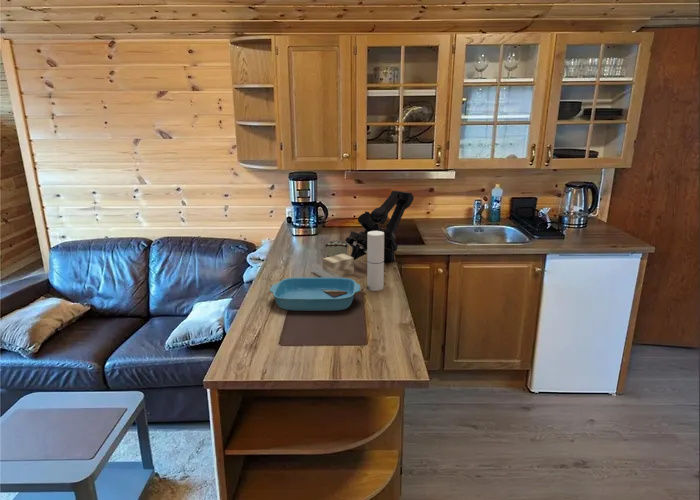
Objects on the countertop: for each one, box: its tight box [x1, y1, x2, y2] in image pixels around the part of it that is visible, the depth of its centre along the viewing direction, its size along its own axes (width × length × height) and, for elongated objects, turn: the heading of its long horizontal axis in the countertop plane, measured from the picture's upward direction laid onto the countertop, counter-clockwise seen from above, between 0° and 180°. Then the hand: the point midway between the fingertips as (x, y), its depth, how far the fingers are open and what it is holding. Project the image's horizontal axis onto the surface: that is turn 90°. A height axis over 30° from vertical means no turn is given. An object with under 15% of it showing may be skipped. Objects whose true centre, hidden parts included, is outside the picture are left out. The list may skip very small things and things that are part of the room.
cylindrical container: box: [366, 230, 385, 292], centre depth 203 cm, size 7×7×25 cm
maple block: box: [322, 254, 355, 278], centre depth 217 cm, size 12×8×8 cm, turn 126°
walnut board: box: [311, 259, 386, 281], centre depth 222 cm, size 29×20×2 cm
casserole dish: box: [269, 276, 362, 312], centre depth 192 cm, size 37×22×7 cm, turn 87°
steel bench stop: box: [311, 262, 340, 278], centre depth 214 cm, size 2×20×4 cm, turn 36°
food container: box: [324, 239, 350, 258], centre depth 240 cm, size 12×6×10 cm, turn 84°
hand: (350, 260), depth 221 cm, fingers closed
